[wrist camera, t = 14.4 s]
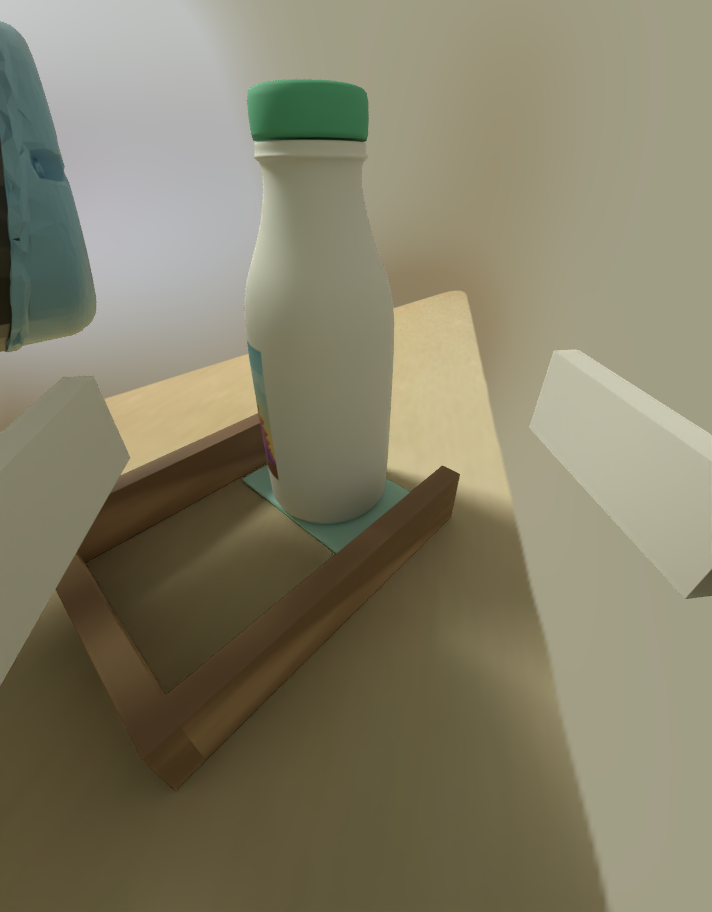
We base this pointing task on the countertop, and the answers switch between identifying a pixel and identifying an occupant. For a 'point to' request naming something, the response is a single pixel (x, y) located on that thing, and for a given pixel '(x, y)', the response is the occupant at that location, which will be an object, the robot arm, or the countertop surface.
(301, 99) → the milk bottle
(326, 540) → the pad
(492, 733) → the countertop surface
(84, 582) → the bay
